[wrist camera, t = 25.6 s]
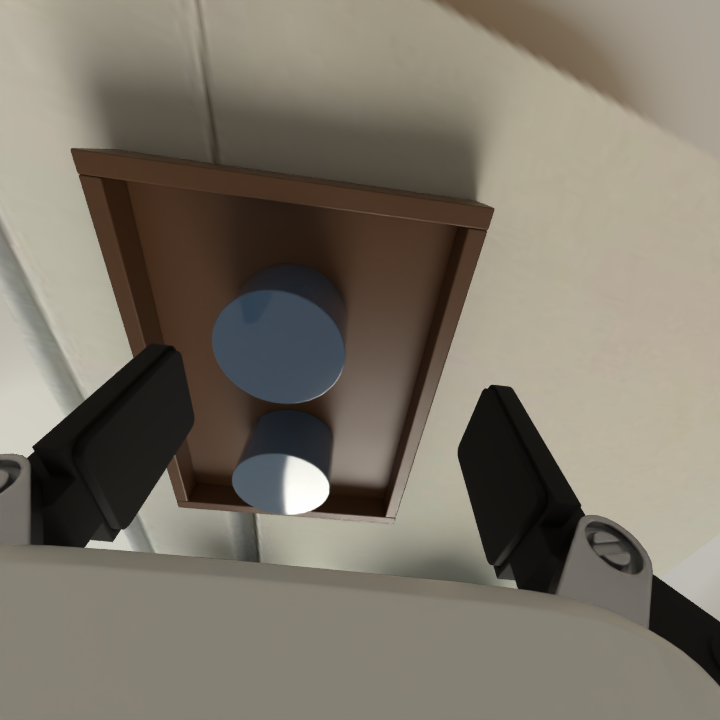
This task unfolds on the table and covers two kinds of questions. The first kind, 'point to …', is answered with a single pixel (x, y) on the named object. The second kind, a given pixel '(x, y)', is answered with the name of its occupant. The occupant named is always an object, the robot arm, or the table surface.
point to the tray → (302, 247)
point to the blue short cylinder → (286, 463)
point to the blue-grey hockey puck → (283, 335)
